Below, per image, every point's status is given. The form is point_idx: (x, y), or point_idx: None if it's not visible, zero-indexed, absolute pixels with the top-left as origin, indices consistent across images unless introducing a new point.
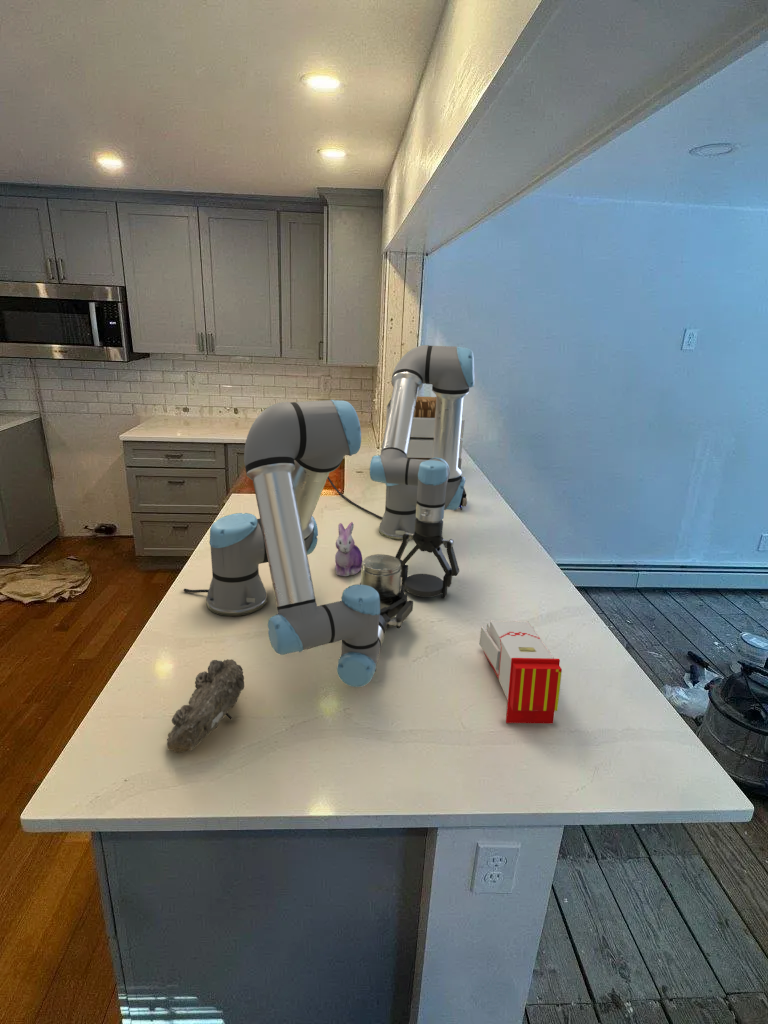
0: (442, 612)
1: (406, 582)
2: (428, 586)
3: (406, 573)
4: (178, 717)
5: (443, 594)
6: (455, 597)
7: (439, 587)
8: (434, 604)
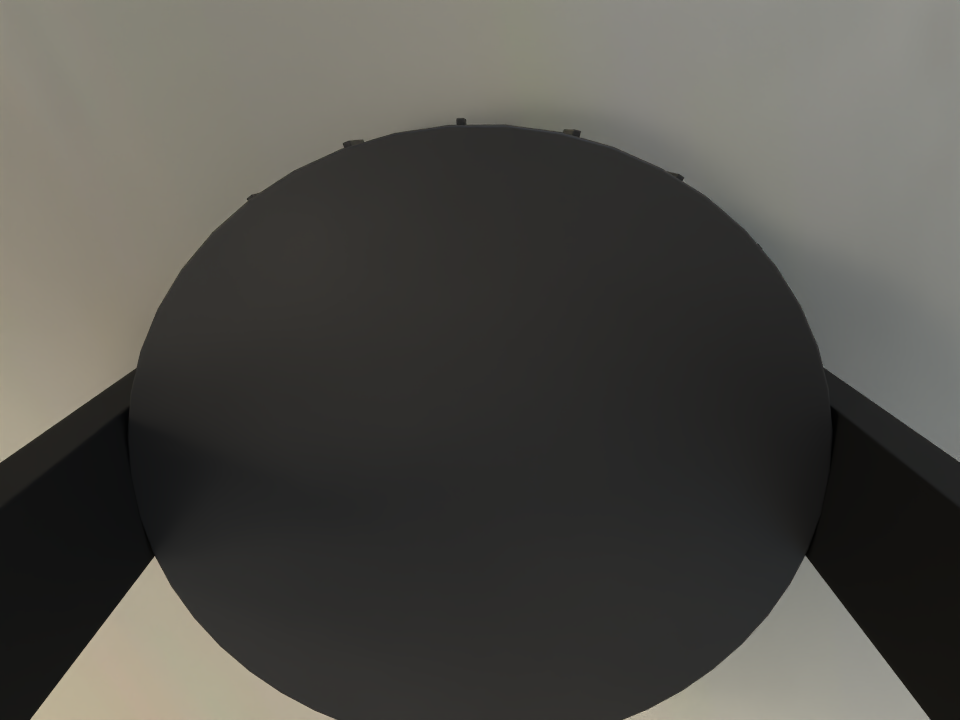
0: (784, 714)
1: (214, 610)
2: (580, 593)
3: (76, 534)
4: None
5: None
6: (919, 360)
7: (759, 558)
8: None
